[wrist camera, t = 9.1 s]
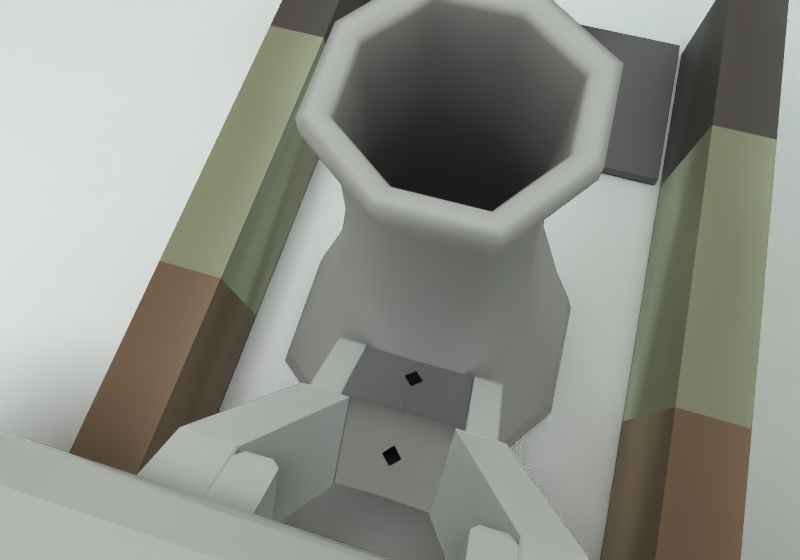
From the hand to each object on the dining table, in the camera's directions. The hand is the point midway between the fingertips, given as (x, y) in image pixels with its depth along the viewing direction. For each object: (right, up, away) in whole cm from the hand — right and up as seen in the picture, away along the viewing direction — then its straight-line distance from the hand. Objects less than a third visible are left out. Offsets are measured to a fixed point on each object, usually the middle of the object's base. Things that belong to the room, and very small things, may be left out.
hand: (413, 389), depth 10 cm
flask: (+1, 0, +5) cm, 5 cm away
